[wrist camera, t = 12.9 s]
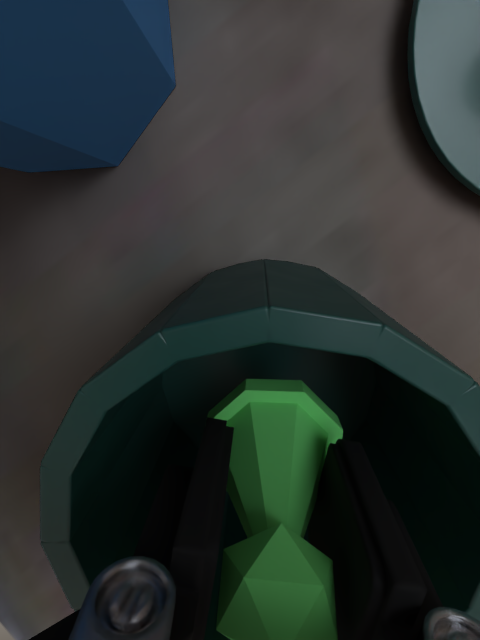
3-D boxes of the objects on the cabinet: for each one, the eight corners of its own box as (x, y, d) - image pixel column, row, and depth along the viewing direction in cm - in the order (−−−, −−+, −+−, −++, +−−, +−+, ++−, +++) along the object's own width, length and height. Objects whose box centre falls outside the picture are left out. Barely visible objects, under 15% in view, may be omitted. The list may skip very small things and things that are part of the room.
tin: (161, 241, 15) (37, 268, 6) (417, 281, 14) (621, 361, 6) (142, 459, 17) (39, 669, 9) (356, 494, 17) (442, 738, 9)
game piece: (358, 472, 12) (456, 726, 6) (234, 508, 12) (211, 769, 6) (314, 354, 11) (379, 519, 5) (182, 401, 11) (98, 595, 5)
